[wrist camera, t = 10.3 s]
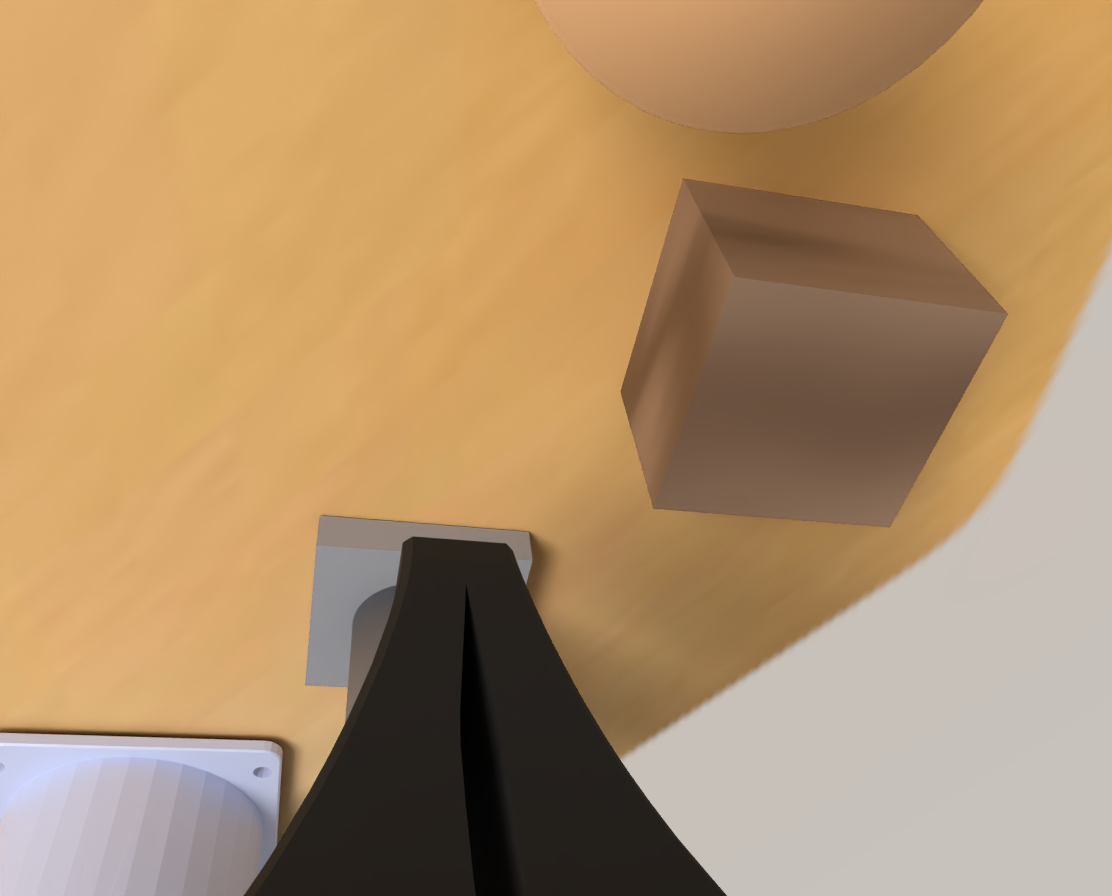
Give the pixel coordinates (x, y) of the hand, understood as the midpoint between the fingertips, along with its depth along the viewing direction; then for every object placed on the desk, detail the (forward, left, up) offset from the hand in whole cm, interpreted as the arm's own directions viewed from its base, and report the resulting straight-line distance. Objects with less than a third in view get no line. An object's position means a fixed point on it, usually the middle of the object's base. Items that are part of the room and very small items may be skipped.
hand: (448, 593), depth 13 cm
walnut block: (0, -7, -9) cm, 11 cm away
